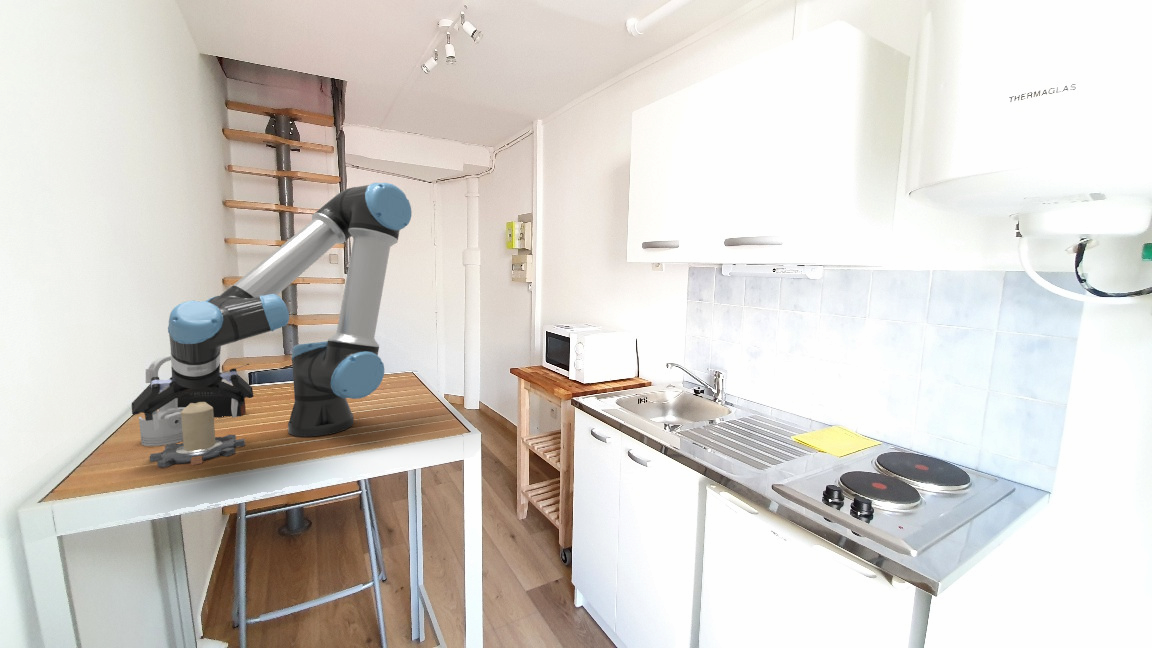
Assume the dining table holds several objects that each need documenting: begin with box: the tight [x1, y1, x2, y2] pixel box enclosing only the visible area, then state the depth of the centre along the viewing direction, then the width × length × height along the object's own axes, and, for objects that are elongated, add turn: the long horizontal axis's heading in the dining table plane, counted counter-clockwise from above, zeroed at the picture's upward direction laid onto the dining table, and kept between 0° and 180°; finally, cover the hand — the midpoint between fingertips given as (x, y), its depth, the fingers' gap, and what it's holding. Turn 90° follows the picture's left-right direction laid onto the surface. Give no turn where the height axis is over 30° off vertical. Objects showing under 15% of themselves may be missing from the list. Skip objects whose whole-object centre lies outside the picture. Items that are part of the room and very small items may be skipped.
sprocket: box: [149, 434, 246, 468], centre depth 101 cm, size 16×16×1 cm
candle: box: [181, 402, 216, 450], centre depth 101 cm, size 6×6×10 cm
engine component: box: [138, 355, 186, 447], centre depth 109 cm, size 11×20×10 cm
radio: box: [178, 363, 250, 418], centre depth 126 cm, size 19×3×15 cm, turn 103°
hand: (196, 418), depth 102 cm, fingers open, 13 cm apart
